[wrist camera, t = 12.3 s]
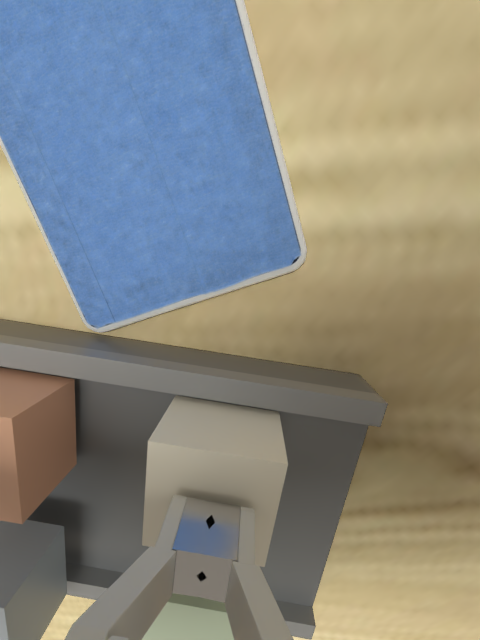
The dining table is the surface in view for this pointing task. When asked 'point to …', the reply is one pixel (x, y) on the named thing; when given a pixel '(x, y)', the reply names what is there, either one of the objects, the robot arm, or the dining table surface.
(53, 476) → the key terracotta
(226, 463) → the key cream
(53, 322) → the dining table surface
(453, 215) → the dining table surface
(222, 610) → the key green
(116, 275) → the blue notebook
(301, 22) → the dining table surface
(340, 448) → the keypad base
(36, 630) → the key slate
